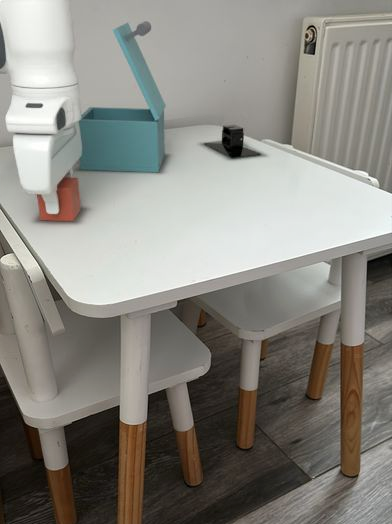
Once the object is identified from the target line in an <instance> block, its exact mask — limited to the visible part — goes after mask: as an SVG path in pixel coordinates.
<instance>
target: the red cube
mask: <svg viewBox="0 0 392 524" xmlns="http://www.w3.org/2000/svg"><path fill="white" fill-rule="evenodd" d="M56 192H57V196H58V199H60V206H61V209H60V211H59V212H58V213H57V214H49V213H47V211H46V205H45V201H44V199H43V197H42V195H41V194H36V198H37V205H38V212H39V218H40V219H39V220H40V221H57V222H74V221H75V220H76V219H77V217H78V215H79V214H80V212H81V211H82V206H81V205H82V204H81V195H80V185H79V178H78V177H72V178H68V177H63V179H62V180H61V181H60V182H59V183H58V185H57V191H56Z"/></svg>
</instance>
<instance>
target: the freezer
mask: <svg viewBox="0 0 392 524" xmlns="http://www.w3.org/2000/svg"><path fill="white" fill-rule="evenodd" d="M81 116H82V118H81V120H79V127H80V134H81V141H82V155H81V157H80V158H79V164H80V170H81V171H106V172H107V171H108V172H110V171H111V172H133V173H134V172H138V173H139V172H141V173H159V171H160V169H161V167H162V163H163V161H164V158H165V156H166V153H165V150H166V147H165V144H166V143H165V109H164V110H163V112H162V114H161V116H160V118H159V119H158V120H156V121H155V119H154V117H153V115H152V113H151V111H150V108H134V107H133V108H131V107H128V108H127V107H102V106H101V107H99V106H98V107H95V106H89V107H88V108H87V110H85V111H84V112H83V113H81Z"/></svg>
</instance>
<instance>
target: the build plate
mask: <svg viewBox="0 0 392 524" xmlns="http://www.w3.org/2000/svg"><path fill="white" fill-rule="evenodd" d="M244 138H245V133H244V127H241V126H239V125H237V124H227V125H223V126H222V130H221V140H217V141H209V142H204V146H207V147H209V148H210V149H212V150H214V151H216V152H218V153H220V154H221V155H223V156H225V157H227V158H229V159H231V160H232V159H233V160H234V159H243V158H250V157H259V156H262V153H261V152H259V151H257V150H255V149H253V148H251V147H249V146H247V145H244V142H245V141H244Z"/></svg>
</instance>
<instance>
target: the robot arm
mask: <svg viewBox="0 0 392 524" xmlns="http://www.w3.org/2000/svg"><path fill="white" fill-rule="evenodd" d="M73 22H74V21H73V15H72V10H71V4H70V0H0V75H2V74H3V75H4V74H7V75H8V76H9V79H10V86H11V93H12V95H11V100H10V101H11V102H10V105H9V108H8V110H7V112H6V114H5V118H4V120H5V126H6V131H7V132H8V133H10V134H13V136H12V148H13V155H14V161H15V165H16V169H17V173H18V179H19V182H20V186H21V187H22V189H23V191H24V192H25V193H26V194H28V195H37V194H41V195H42V197H43V199H44V201H45V205H46V211H47V213H49V214H57V213H58V212H59V211H60V209H61V206H60V199H58V196H57V192H56V191H57V185H58V183H59V182H60V181H61V180H62V179H63V177H68V178H73V167H74V166H75V164H76V163H77V162H78V160H80V157H81V155H82V141H81V134H80V127H79V120H81V118H82V116H81V115H82V105H81V95H80V86H79V85H80V84H79V78H78V74H77V72H76V69H75V63H74V55H75V49H76V42H75V31H74V23H73Z"/></svg>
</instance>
